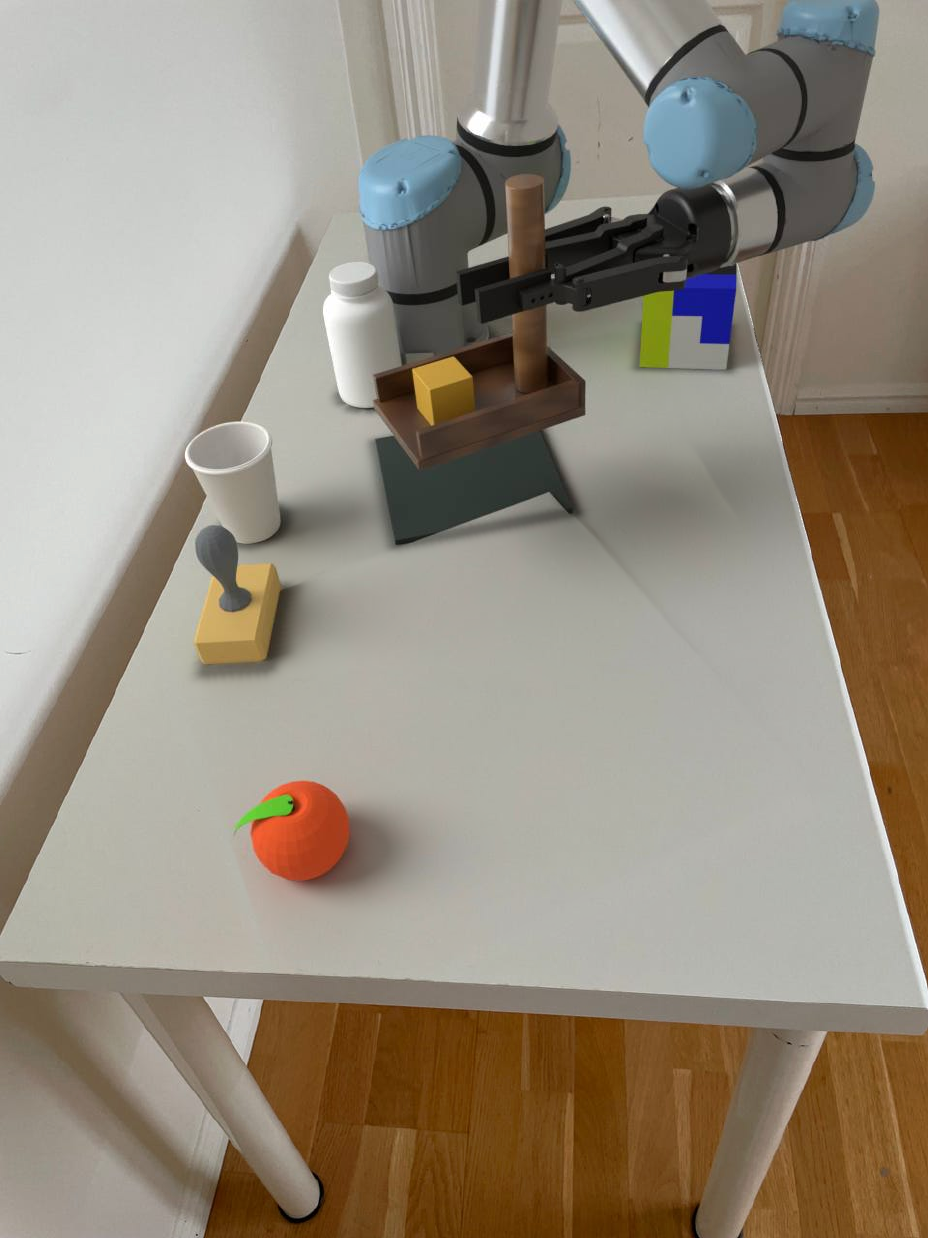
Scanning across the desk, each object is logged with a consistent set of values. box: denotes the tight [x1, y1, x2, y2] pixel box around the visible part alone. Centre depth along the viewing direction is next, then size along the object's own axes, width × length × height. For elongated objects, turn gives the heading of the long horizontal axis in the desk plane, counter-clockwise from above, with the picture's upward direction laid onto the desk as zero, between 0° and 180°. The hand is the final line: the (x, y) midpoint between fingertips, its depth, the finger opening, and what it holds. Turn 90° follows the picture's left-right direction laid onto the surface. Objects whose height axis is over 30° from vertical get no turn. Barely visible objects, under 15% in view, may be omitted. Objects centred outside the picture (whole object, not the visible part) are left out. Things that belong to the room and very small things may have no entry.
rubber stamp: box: [193, 524, 283, 665], centre depth 82 cm, size 10×6×12 cm, turn 0°
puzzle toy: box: [639, 263, 738, 371], centre depth 111 cm, size 10×10×10 cm
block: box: [412, 356, 475, 426], centre depth 82 cm, size 4×4×4 cm
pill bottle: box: [322, 261, 402, 409], centre depth 108 cm, size 8×8×15 cm
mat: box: [374, 430, 574, 545], centre depth 99 cm, size 18×18×1 cm
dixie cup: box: [184, 421, 282, 545], centre depth 93 cm, size 8×8×10 cm
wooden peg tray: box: [373, 174, 587, 471], centre depth 78 cm, size 16×11×19 cm
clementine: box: [233, 780, 350, 882], centre depth 66 cm, size 8×7×7 cm
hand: (468, 297), depth 77 cm, fingers closed on wooden peg tray, 3 cm apart
